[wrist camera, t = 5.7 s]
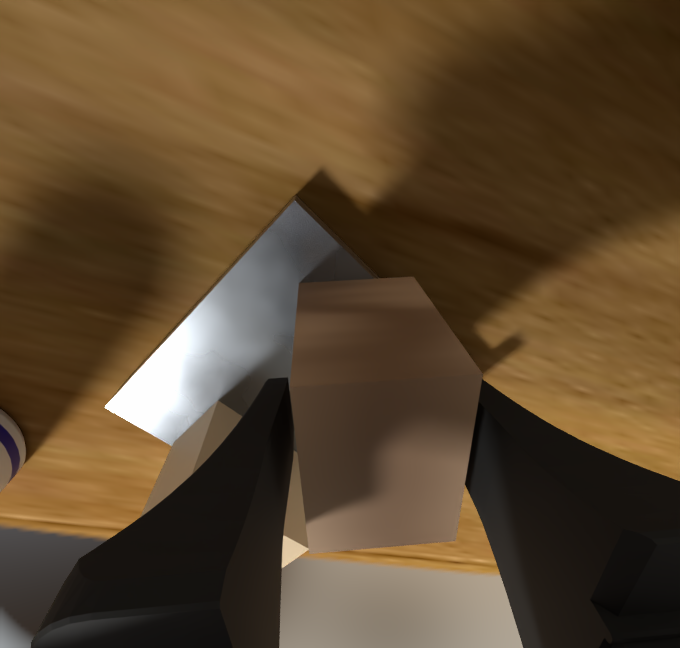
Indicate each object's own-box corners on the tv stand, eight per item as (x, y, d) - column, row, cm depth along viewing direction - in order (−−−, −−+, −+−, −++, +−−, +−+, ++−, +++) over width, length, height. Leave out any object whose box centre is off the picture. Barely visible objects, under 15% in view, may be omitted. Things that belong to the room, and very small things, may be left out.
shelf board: (118, 389, 16) (88, 428, 14) (295, 194, 13) (292, 206, 11) (309, 504, 20) (309, 548, 18) (479, 376, 17) (503, 411, 15)
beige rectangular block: (173, 442, 16) (133, 532, 12) (218, 400, 15) (188, 483, 11) (269, 497, 18) (258, 590, 14) (312, 463, 17) (313, 551, 13)
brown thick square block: (310, 412, 16) (309, 558, 10) (298, 283, 13) (289, 387, 8) (406, 405, 16) (454, 545, 10) (413, 276, 13) (482, 374, 8)
